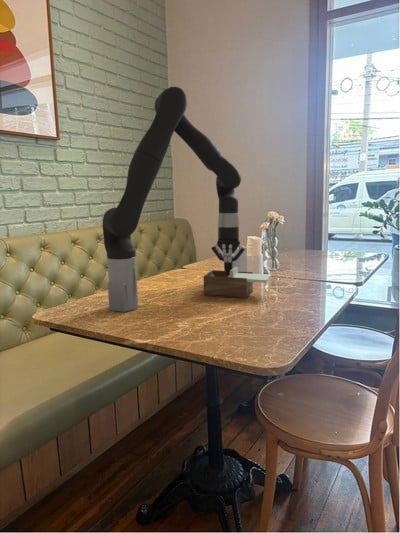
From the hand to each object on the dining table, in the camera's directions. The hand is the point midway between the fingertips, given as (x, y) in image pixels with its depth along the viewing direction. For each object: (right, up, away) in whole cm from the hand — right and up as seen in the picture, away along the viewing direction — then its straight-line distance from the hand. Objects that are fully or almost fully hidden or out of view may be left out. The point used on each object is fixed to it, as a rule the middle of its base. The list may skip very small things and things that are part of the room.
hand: (228, 271), depth 146 cm
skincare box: (+4, -5, +20) cm, 21 cm away
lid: (+7, -3, -2) cm, 8 cm away
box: (0, -8, +1) cm, 8 cm away
